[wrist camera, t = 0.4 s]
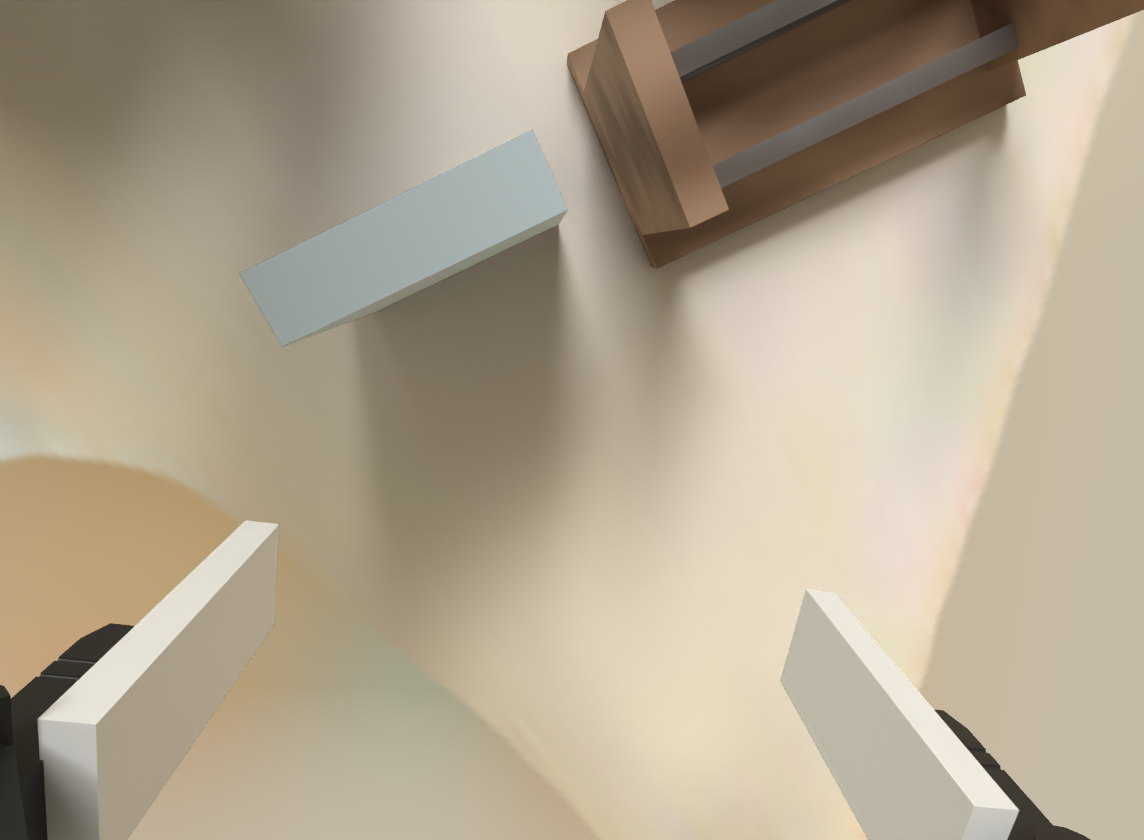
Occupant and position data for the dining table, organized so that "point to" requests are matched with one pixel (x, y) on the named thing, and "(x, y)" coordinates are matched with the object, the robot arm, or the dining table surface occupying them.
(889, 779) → the robot arm
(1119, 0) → the track frame
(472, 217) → the door panel
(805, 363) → the dining table surface
